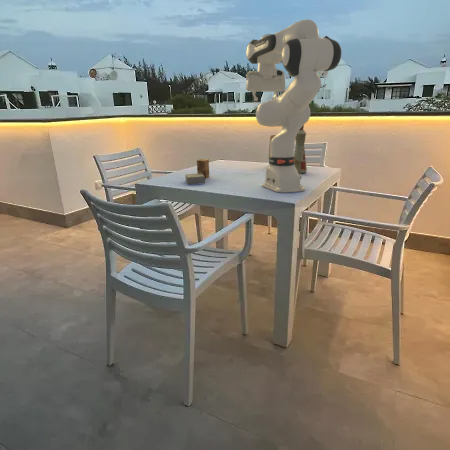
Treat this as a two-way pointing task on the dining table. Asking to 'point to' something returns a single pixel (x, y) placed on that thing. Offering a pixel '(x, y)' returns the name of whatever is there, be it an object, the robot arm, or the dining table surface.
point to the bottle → (300, 152)
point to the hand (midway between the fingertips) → (264, 101)
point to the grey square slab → (195, 178)
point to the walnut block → (203, 167)
